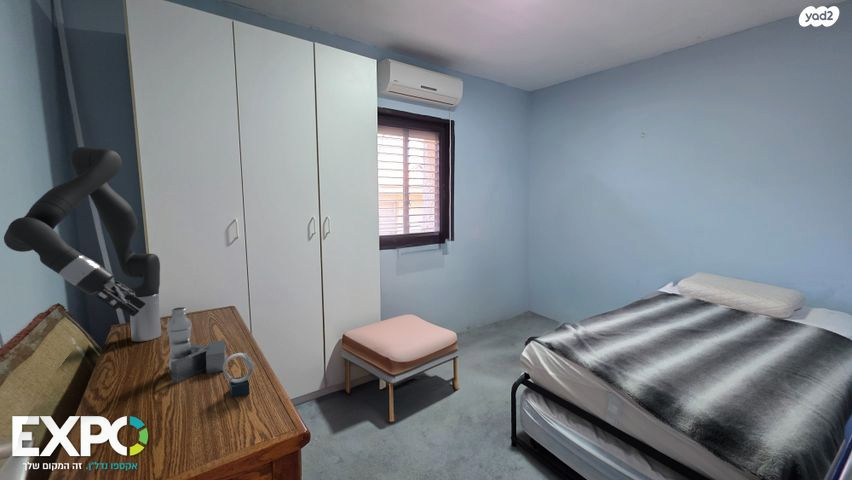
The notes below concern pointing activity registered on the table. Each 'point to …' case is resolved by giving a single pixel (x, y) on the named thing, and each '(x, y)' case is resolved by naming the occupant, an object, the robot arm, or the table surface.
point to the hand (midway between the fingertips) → (140, 309)
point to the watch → (239, 384)
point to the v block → (200, 361)
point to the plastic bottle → (179, 335)
